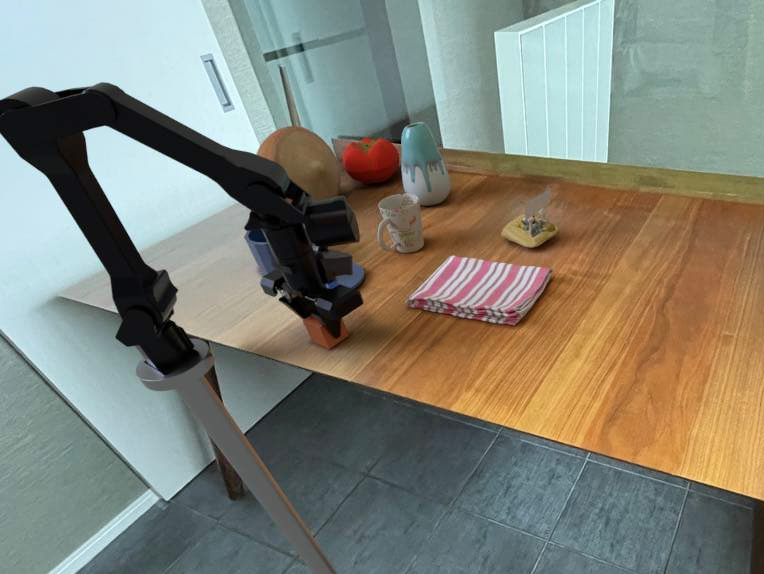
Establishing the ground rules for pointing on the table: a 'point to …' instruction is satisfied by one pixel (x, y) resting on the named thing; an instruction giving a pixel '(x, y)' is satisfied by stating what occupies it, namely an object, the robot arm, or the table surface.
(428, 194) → the vase
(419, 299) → the dish towel
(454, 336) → the table surface
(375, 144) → the tomato
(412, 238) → the mug
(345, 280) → the pot lid
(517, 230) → the tan figurine base
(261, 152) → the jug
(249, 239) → the pot
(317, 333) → the block
